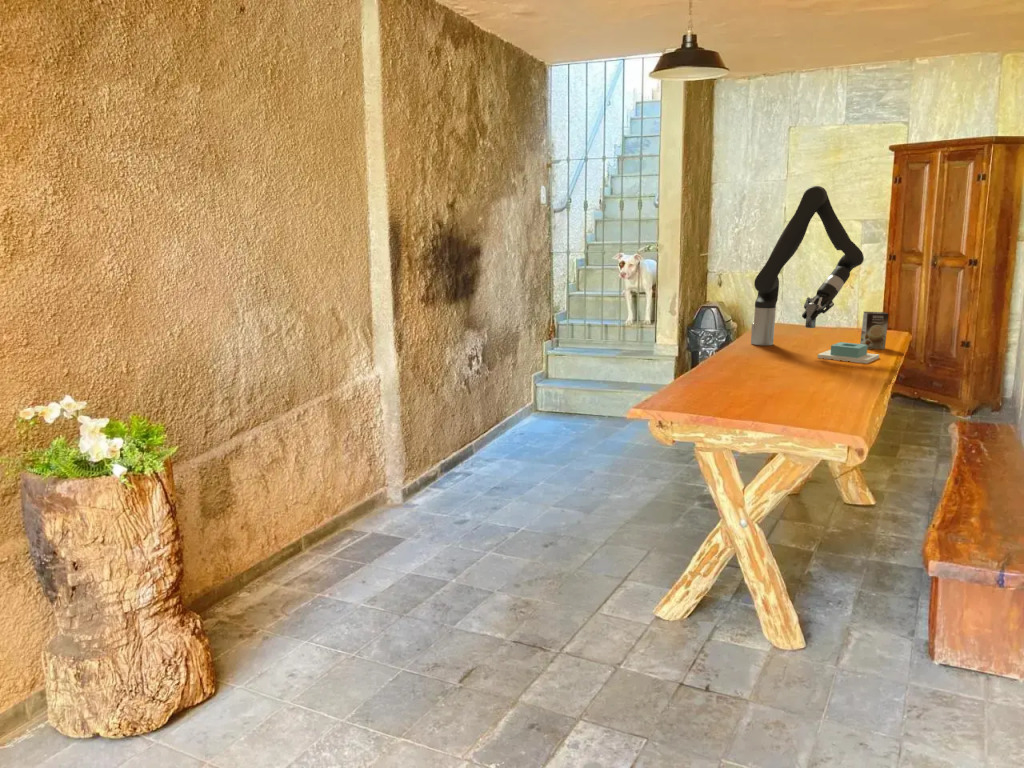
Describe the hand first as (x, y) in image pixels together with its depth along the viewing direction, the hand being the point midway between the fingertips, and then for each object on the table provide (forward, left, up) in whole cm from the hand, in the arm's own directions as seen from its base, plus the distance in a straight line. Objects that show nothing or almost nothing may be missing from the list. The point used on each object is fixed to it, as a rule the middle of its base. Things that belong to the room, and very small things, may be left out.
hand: (807, 318), depth 341 cm
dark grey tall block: (+1, +2, -4) cm, 4 cm away
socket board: (+16, +5, -16) cm, 24 cm away
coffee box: (+16, +37, -16) cm, 44 cm away
